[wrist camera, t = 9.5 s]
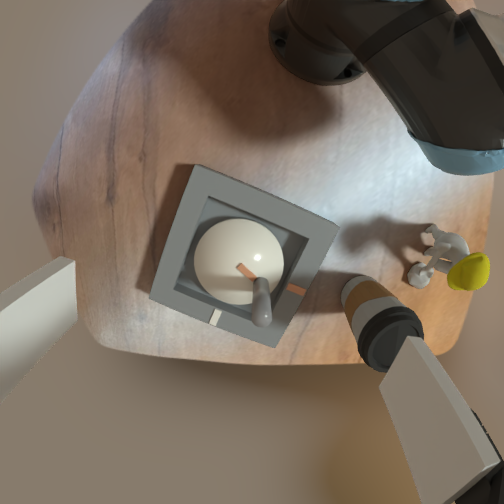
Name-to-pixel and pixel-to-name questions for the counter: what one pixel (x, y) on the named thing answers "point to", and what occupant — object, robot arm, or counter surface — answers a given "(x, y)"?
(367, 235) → the counter surface
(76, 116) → the counter surface
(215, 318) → the dial board
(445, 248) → the figurine
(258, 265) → the dial
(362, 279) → the coffee cup
